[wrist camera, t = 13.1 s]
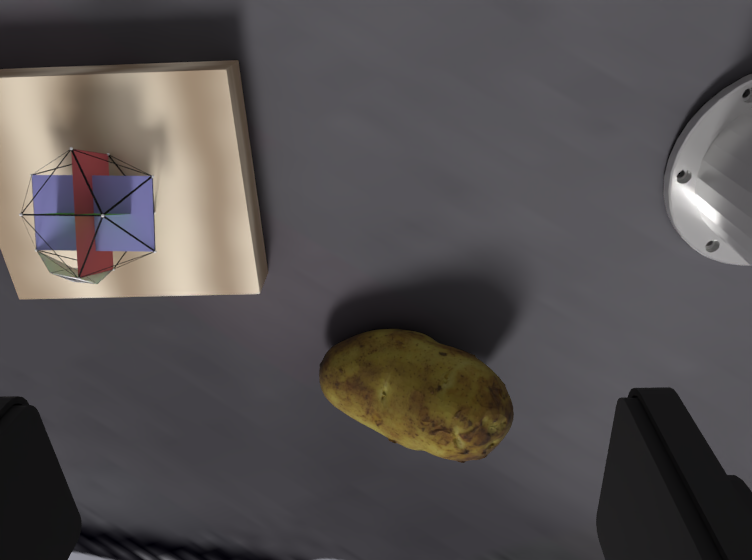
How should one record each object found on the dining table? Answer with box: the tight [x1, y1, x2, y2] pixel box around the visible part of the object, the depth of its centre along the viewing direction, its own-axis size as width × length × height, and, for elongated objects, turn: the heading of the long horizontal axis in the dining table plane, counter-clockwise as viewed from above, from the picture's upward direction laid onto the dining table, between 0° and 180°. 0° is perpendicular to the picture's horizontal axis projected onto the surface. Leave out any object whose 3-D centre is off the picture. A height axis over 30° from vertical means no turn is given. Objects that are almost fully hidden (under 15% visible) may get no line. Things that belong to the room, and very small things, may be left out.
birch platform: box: [0, 60, 268, 299], centre depth 38 cm, size 16×14×3 cm
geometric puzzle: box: [19, 147, 157, 284], centre depth 34 cm, size 7×7×8 cm
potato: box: [319, 329, 514, 463], centre depth 42 cm, size 8×13×8 cm, turn 64°
